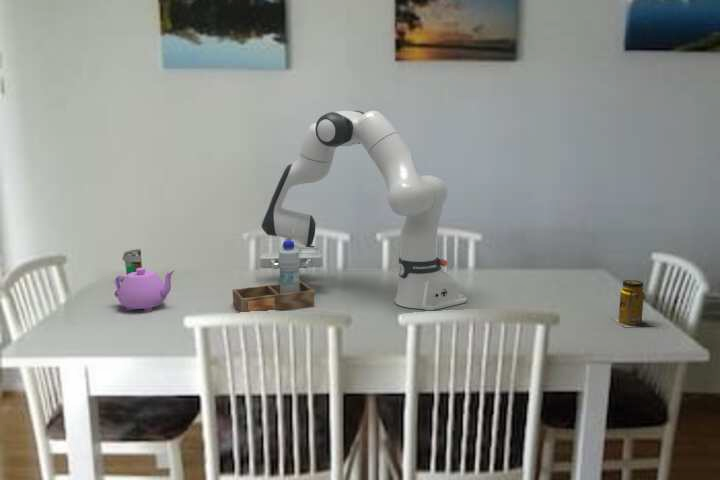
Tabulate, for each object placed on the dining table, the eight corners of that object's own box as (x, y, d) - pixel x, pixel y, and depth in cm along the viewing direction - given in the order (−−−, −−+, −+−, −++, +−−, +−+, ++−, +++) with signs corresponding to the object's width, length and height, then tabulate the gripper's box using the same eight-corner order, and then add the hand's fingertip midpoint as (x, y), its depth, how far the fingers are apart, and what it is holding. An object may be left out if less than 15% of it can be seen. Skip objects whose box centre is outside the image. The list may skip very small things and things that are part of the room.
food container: (124, 276, 237) (122, 249, 235) (142, 275, 238) (140, 248, 236) (123, 285, 225) (121, 257, 223) (142, 284, 227) (140, 256, 225)
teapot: (186, 301, 207) (184, 263, 205) (167, 315, 193) (165, 275, 191) (126, 299, 210) (123, 262, 207) (103, 312, 196) (100, 273, 193)
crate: (302, 296, 211) (301, 281, 210) (314, 306, 201) (314, 291, 200) (233, 305, 203) (232, 289, 202) (242, 316, 192) (241, 300, 191)
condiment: (612, 319, 188) (615, 278, 185) (640, 318, 189) (644, 278, 186) (624, 328, 181) (628, 285, 178) (654, 326, 182) (658, 284, 179)
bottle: (297, 307, 200) (295, 243, 196) (276, 306, 201) (274, 242, 197) (303, 301, 207) (302, 238, 202) (283, 299, 208) (281, 238, 204)
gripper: (260, 247, 219) (256, 257, 205) (322, 246, 220) (322, 255, 206) (261, 265, 220) (257, 276, 206) (322, 264, 221) (322, 275, 207)
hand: (290, 266), depth 206 cm, fingers open, 8 cm apart
